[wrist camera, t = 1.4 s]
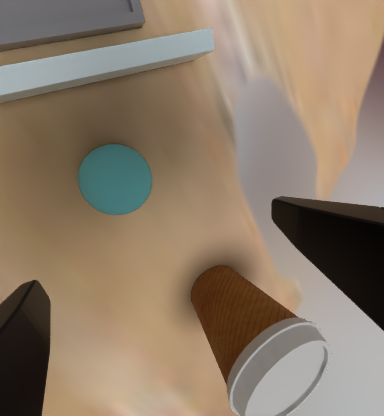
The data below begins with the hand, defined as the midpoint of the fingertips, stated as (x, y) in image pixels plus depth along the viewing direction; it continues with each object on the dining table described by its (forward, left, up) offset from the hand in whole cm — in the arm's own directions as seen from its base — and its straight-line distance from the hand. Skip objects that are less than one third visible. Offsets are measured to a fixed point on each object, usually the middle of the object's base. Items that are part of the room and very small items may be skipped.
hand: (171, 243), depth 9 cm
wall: (-1, +7, -12) cm, 14 cm away
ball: (-1, 0, -10) cm, 10 cm away
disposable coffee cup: (+5, -17, -13) cm, 22 cm away
